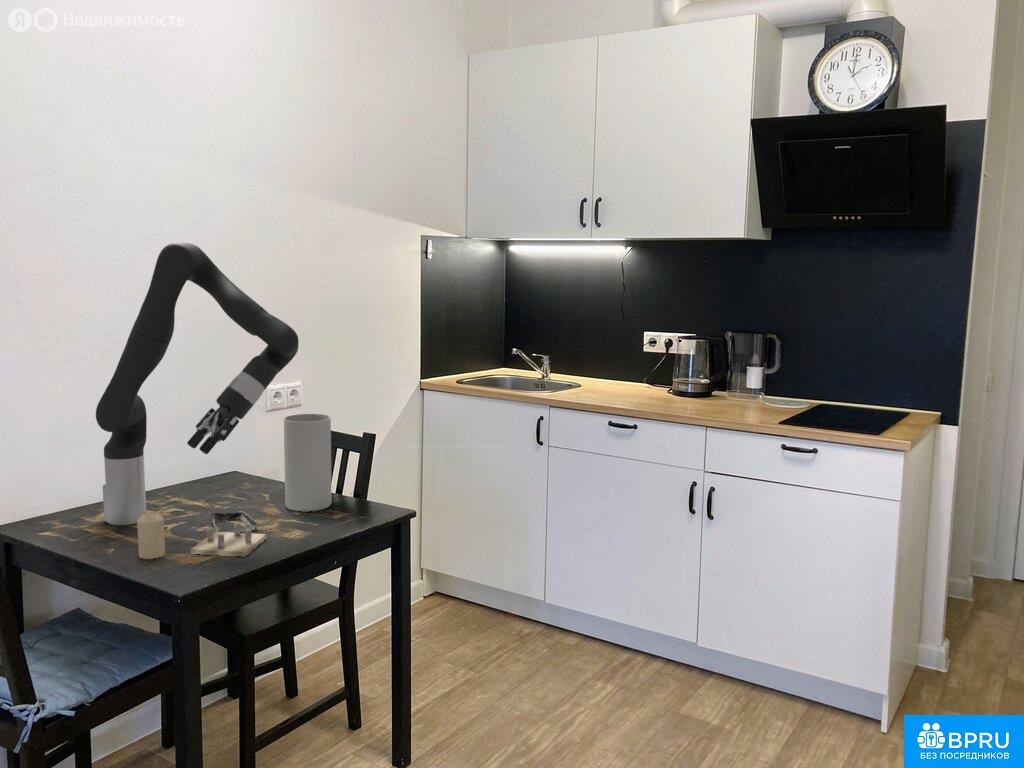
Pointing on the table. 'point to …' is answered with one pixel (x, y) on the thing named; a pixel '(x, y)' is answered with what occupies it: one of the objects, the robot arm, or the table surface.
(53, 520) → the table surface
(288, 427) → the cylinder vase
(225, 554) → the candle plate
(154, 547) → the candle
